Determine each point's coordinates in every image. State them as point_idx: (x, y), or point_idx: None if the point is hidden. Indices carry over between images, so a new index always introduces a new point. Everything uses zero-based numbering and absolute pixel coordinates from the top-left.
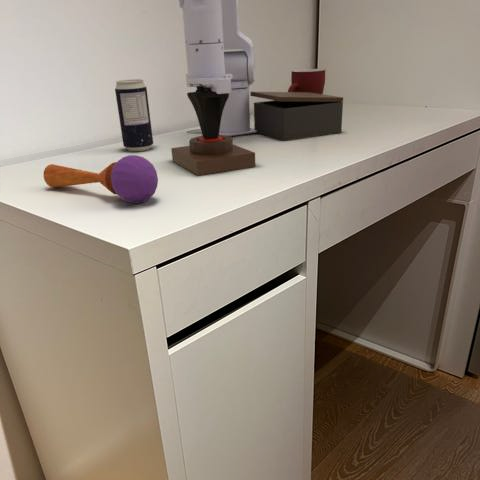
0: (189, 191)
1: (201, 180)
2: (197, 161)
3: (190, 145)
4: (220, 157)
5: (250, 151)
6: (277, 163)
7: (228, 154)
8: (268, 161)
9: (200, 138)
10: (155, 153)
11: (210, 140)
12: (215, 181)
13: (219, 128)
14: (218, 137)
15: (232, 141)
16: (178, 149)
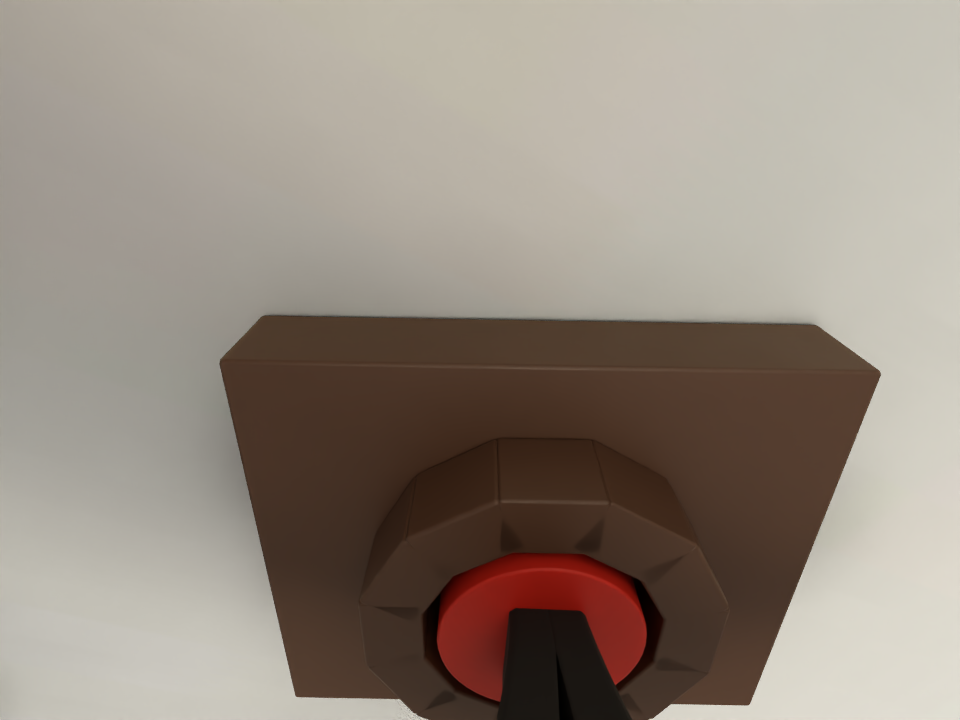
0: (910, 716)
1: (804, 642)
2: (749, 701)
3: None
4: (787, 602)
5: (813, 382)
6: (880, 119)
7: (752, 537)
8: (756, 148)
9: (490, 690)
10: (47, 628)
11: (627, 673)
12: (879, 609)
13: (610, 681)
14: (555, 598)
15: (616, 483)
16: (365, 684)
